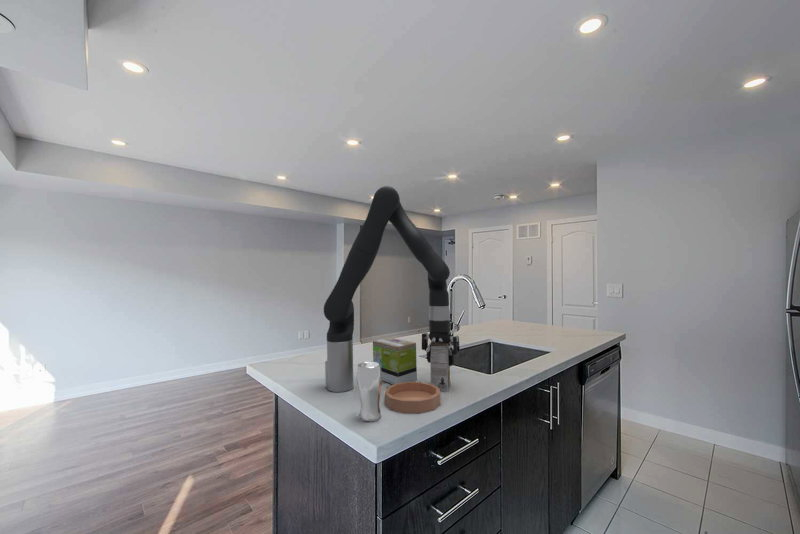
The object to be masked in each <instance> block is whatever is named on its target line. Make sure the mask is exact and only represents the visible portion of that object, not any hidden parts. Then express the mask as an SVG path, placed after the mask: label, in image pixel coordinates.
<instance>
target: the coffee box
mask: <svg viewBox="0 0 800 534" xmlns="http://www.w3.org/2000/svg"><path fill="white" fill-rule="evenodd" d="M430 342H431V341H430ZM429 344H430V343H429ZM448 346H449V343H445V344H444V343H440V342H431V344H430V363H429V364H430V384H433V385H435V386H436V387H438V388H440V392H449V391H450V388H451V366H449V353H448Z"/></svg>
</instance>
